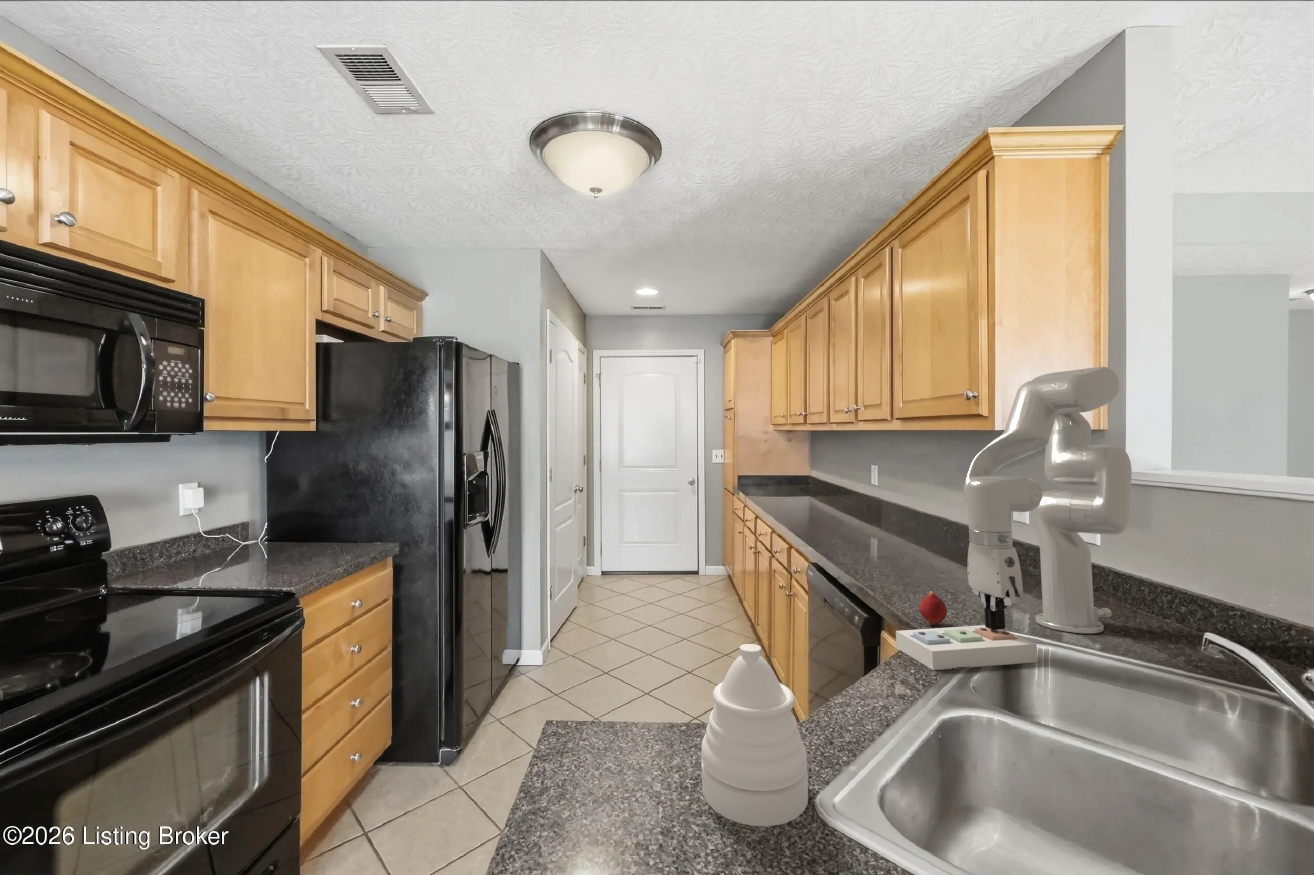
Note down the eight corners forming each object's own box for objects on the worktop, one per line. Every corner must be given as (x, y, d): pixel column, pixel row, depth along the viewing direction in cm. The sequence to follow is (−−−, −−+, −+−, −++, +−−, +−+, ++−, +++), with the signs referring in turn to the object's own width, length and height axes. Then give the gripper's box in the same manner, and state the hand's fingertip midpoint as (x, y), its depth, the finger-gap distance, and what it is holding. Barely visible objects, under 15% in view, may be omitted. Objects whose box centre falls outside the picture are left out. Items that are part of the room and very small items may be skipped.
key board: (990, 641, 114) (990, 624, 114) (1037, 662, 102) (1036, 643, 102) (896, 647, 111) (895, 630, 111) (932, 670, 99) (932, 651, 99)
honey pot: (814, 832, 57) (809, 664, 58) (697, 820, 59) (693, 659, 60) (802, 764, 70) (798, 627, 71) (706, 756, 72) (703, 624, 73)
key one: (966, 643, 109) (965, 627, 109) (983, 651, 105) (982, 635, 105) (944, 645, 109) (944, 629, 109) (961, 653, 104) (960, 637, 104)
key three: (996, 641, 110) (995, 626, 110) (1014, 649, 105) (1014, 633, 106) (975, 643, 110) (975, 627, 110) (993, 651, 105) (992, 635, 105)
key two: (935, 645, 108) (934, 629, 109) (950, 654, 104) (950, 637, 104) (913, 647, 108) (912, 631, 108) (928, 655, 103) (927, 639, 103)
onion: (941, 621, 128) (939, 588, 128) (952, 629, 122) (950, 594, 122) (916, 621, 128) (915, 588, 129) (926, 629, 123) (924, 594, 123)
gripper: (1037, 543, 102) (1042, 639, 101) (980, 532, 116) (984, 616, 116) (1002, 545, 101) (1007, 642, 100) (949, 534, 115) (953, 618, 115)
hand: (995, 628), depth 108 cm, fingers closed
